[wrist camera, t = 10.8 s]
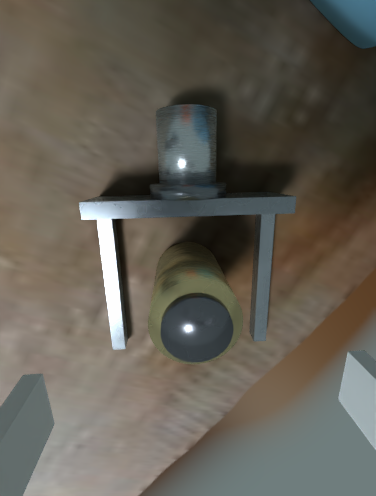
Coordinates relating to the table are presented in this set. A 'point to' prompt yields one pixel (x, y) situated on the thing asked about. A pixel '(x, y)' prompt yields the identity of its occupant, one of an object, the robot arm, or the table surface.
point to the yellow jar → (193, 306)
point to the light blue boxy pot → (351, 19)
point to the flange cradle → (187, 207)
